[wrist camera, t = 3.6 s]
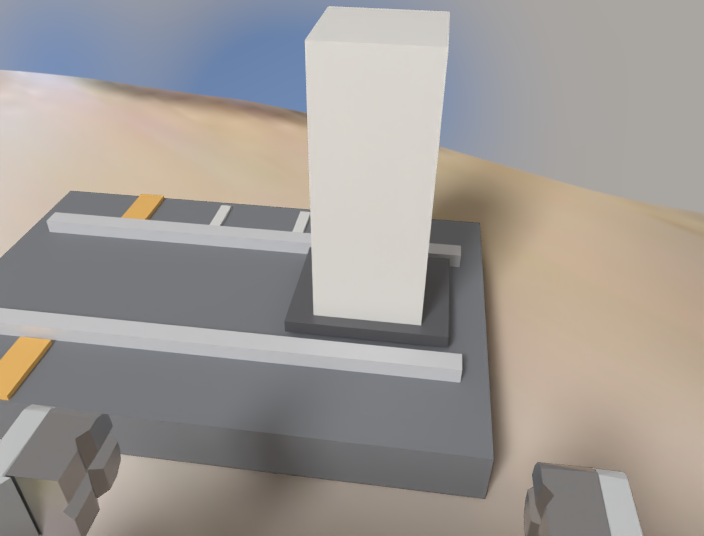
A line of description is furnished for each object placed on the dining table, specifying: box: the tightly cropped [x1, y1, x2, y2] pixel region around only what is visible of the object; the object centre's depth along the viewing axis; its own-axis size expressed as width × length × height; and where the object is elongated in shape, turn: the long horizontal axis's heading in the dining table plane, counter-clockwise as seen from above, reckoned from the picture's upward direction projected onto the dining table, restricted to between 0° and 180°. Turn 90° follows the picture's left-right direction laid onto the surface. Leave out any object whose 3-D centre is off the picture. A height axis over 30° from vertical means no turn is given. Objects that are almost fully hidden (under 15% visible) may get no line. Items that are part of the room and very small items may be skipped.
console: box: [0, 191, 494, 499], centre depth 26 cm, size 21×14×3 cm, turn 82°
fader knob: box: [284, 6, 450, 347], centre depth 22 cm, size 6×5×10 cm
